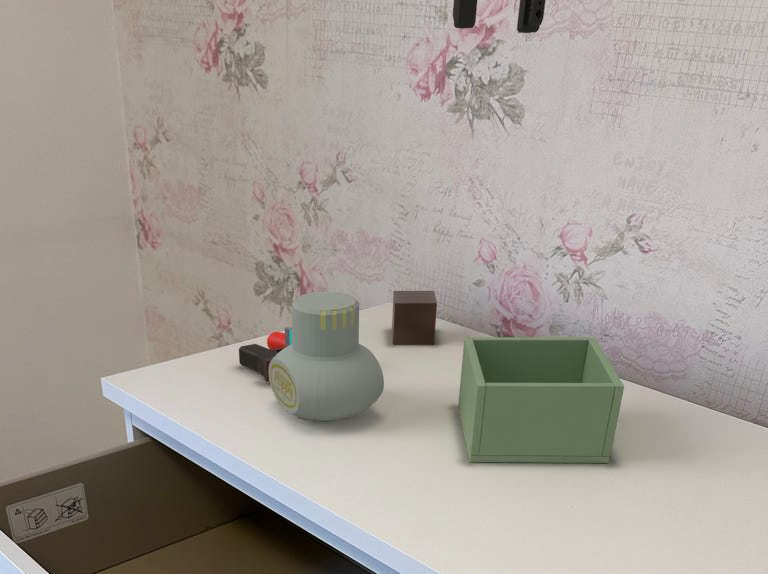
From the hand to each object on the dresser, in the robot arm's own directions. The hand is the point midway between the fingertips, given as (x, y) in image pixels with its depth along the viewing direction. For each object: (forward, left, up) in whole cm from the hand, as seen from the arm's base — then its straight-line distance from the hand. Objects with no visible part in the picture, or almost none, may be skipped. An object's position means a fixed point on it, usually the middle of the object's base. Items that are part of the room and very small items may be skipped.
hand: (494, 30), depth 89 cm
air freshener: (+15, +24, -28) cm, 40 cm away
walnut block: (+6, +4, -28) cm, 29 cm away
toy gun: (+18, +12, -28) cm, 36 cm away
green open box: (-3, +29, -28) cm, 40 cm away
